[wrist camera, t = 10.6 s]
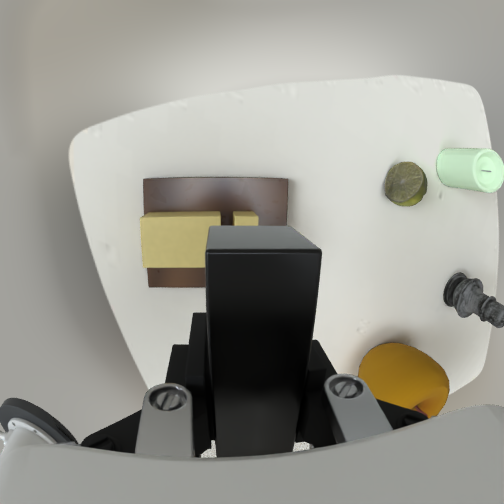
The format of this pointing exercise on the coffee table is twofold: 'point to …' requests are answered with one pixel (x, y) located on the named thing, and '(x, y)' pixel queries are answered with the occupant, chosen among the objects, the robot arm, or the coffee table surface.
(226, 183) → the butter board
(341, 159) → the coffee table surface
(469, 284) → the black chess piece
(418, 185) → the lime
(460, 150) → the candle
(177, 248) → the butter block
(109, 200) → the coffee table surface
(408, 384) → the apple
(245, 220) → the butter slice
